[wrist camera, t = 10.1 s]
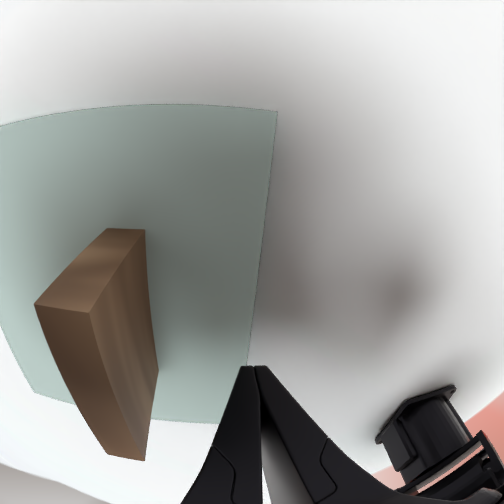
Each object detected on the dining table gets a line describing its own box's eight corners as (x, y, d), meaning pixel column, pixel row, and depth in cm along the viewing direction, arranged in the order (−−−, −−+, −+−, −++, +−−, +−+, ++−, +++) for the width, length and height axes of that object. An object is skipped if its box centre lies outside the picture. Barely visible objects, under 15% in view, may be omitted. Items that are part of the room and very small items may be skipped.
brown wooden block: (145, 229, 9) (88, 312, 5) (159, 370, 12) (144, 461, 7) (104, 227, 9) (30, 303, 5) (127, 366, 12) (105, 453, 7)
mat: (274, 113, 9) (277, 111, 8) (237, 415, 15) (238, 423, 14) (-27, 135, 7) (-34, 137, 6) (36, 386, 13) (34, 392, 12)
